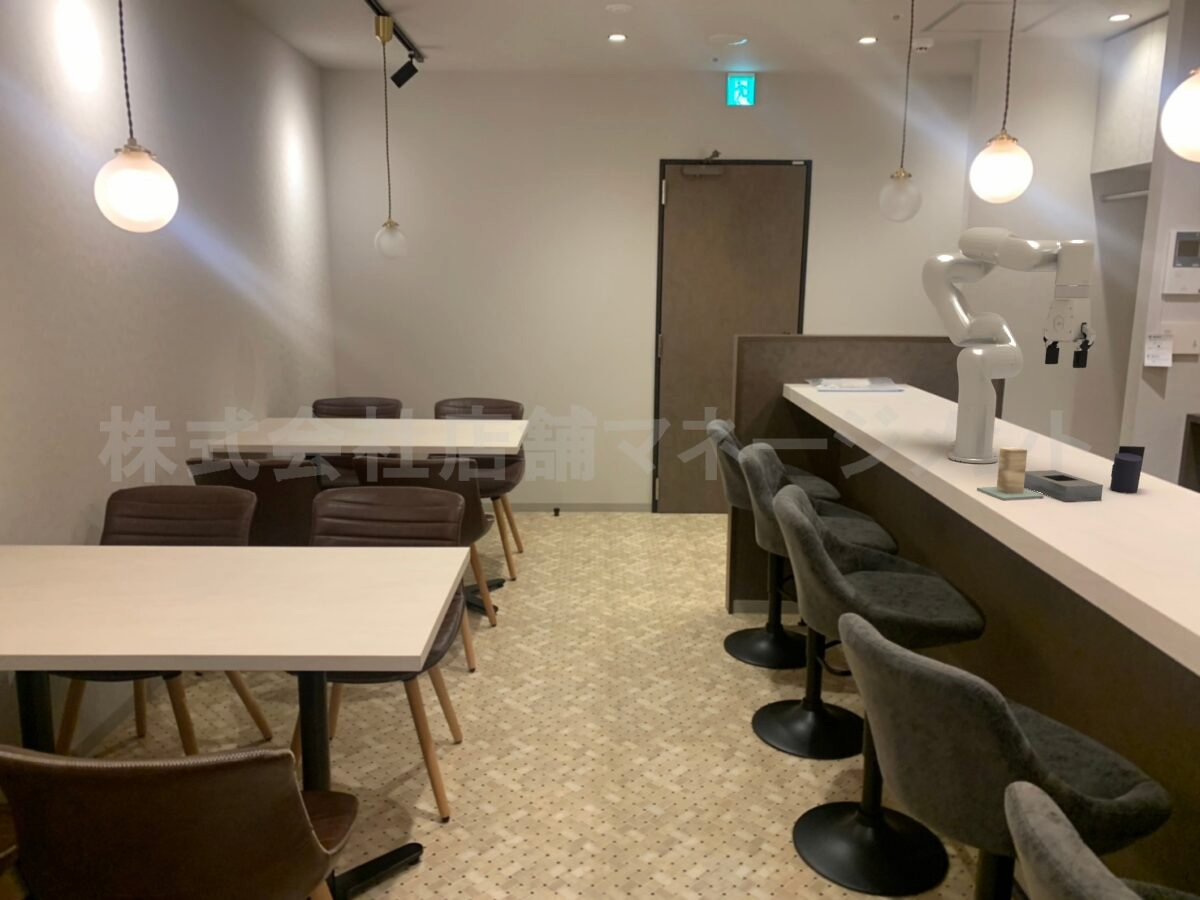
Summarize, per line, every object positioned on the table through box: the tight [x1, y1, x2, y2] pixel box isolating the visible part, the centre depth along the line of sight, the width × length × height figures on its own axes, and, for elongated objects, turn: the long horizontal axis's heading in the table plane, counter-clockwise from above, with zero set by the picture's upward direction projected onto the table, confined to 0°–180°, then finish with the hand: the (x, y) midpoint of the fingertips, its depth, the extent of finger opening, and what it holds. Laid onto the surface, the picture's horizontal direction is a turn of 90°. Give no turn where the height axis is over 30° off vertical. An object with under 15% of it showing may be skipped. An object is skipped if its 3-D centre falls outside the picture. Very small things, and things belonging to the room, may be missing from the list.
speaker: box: [1109, 445, 1146, 494], centre depth 204 cm, size 8×6×10 cm
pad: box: [976, 486, 1044, 501], centre depth 201 cm, size 10×10×1 cm
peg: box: [996, 446, 1028, 494], centre depth 200 cm, size 4×4×10 cm
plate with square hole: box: [1024, 469, 1104, 503], centre depth 202 cm, size 16×9×4 cm, turn 10°
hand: (1065, 365), depth 209 cm, fingers open, 9 cm apart
